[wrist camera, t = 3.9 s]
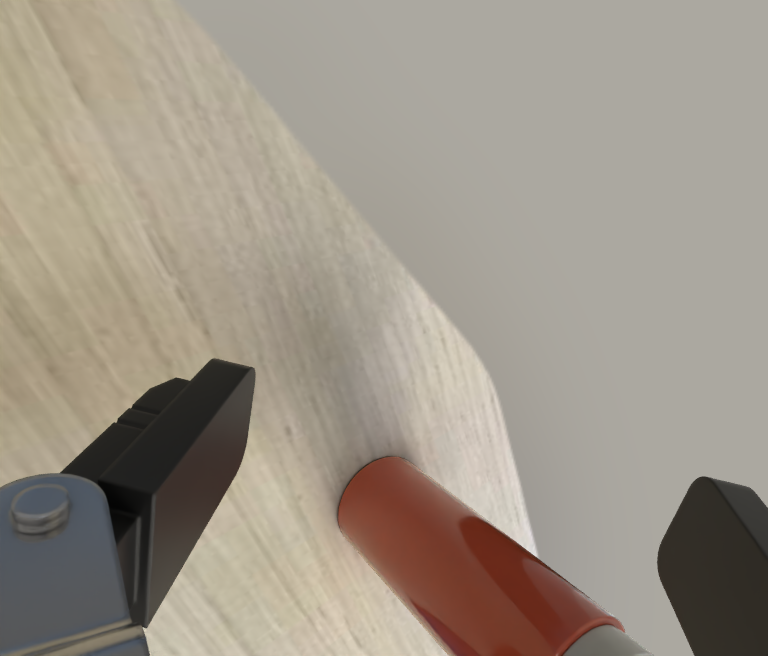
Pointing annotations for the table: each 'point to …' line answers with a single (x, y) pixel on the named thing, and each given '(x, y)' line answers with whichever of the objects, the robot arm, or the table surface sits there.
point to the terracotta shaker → (468, 572)
